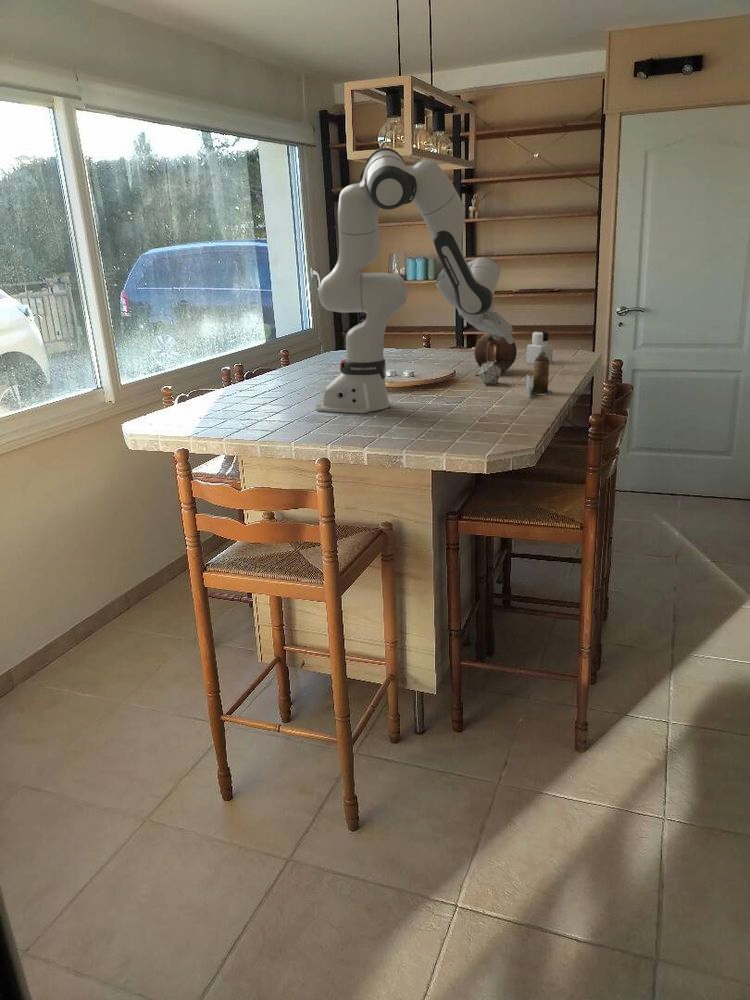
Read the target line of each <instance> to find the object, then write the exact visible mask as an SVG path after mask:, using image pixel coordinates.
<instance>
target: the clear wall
mask: <svg viewBox="0 0 750 1000" xmlns="http://www.w3.org/2000/svg"><path fill="white" fill-rule="evenodd" d="M525 385H526V386H525V387H526V388H525V389H526V391H527V392H528V393H527V395H528V396H529V397H528V399H529V398H531V399H532V394H531V390H532V383H531V379H530V376H529V375H528V374H527V375H526V384H525Z"/></svg>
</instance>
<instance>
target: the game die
mask: <svg viewBox="0 0 750 1000" xmlns="http://www.w3.org/2000/svg"><path fill="white" fill-rule="evenodd" d="M481 363H482V365H481V367H479V371H478V373H477V374H475V377H478V378H479V379H480V380H482V381H483V384H485V387H487V386H488V384H494V383H496V384H497V385H499V382H498V381H499V379H500V376H501V375H502V373H503V372H502V371H504V369H500V368H499V367H498V366H497V365H496V362H495V363H494V360H492V362H487V363H483V362H482V361H481ZM504 372H505V371H504Z"/></svg>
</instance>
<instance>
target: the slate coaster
mask: <svg viewBox="0 0 750 1000" xmlns="http://www.w3.org/2000/svg"><path fill="white" fill-rule="evenodd" d="M551 392H552V390H550V389H548V392H547V393H535V392H533V389H531V393H533V394H549V393H551ZM533 394H532V395H533ZM551 394H552V393H551ZM549 395H550V394H549Z"/></svg>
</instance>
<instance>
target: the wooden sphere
mask: <svg viewBox="0 0 750 1000" xmlns="http://www.w3.org/2000/svg"><path fill="white" fill-rule="evenodd" d="M474 357H475V358H474V359H475V362H476V363H477V366H479V368H481V365H482V363H481V361H482V362H483V363H487V362H492V360H494V363H495V362H496V365H497V366H498V367H499V368H500V369H504V371H502V372H501V373H503V372H506V371H508V369H509V368H510V367H512V366H513V364H514V362H515V361H516V358H517V346H516V343H515V341H514V342H513V344H509V343H508V342H507V341H506V339H505V338H504V337H500V338H499V340H495V339H494V338H493V337H492V336H491V335H489V334H488V333H487V332H485V334H483V335H482V336H481V337H480V338H479V339H478V340H477V342H476V344H475V347H474Z"/></svg>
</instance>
